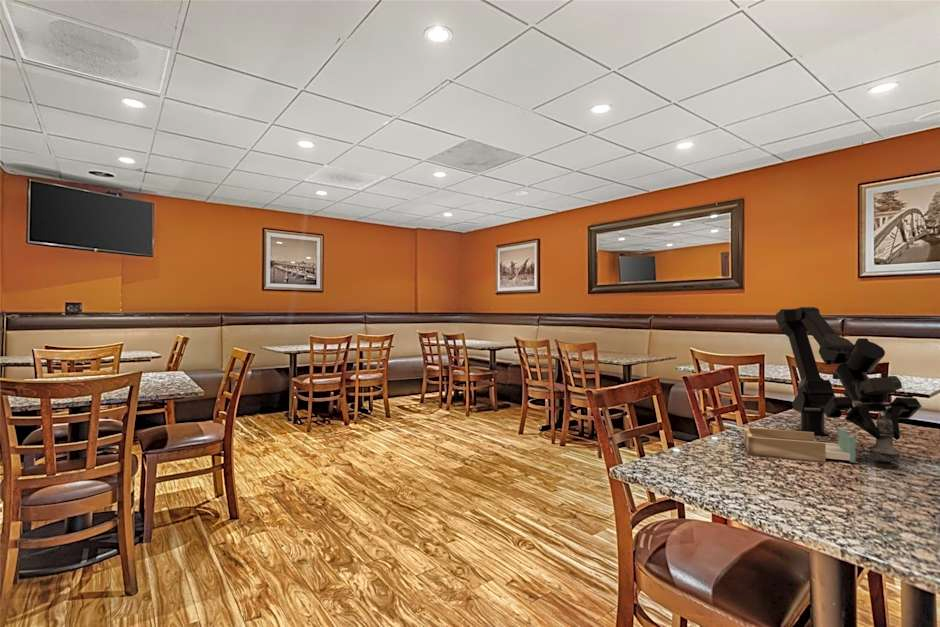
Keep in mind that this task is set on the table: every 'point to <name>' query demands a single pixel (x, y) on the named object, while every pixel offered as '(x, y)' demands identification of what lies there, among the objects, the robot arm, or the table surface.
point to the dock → (783, 444)
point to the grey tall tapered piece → (884, 446)
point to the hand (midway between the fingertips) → (888, 438)
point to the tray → (841, 447)
